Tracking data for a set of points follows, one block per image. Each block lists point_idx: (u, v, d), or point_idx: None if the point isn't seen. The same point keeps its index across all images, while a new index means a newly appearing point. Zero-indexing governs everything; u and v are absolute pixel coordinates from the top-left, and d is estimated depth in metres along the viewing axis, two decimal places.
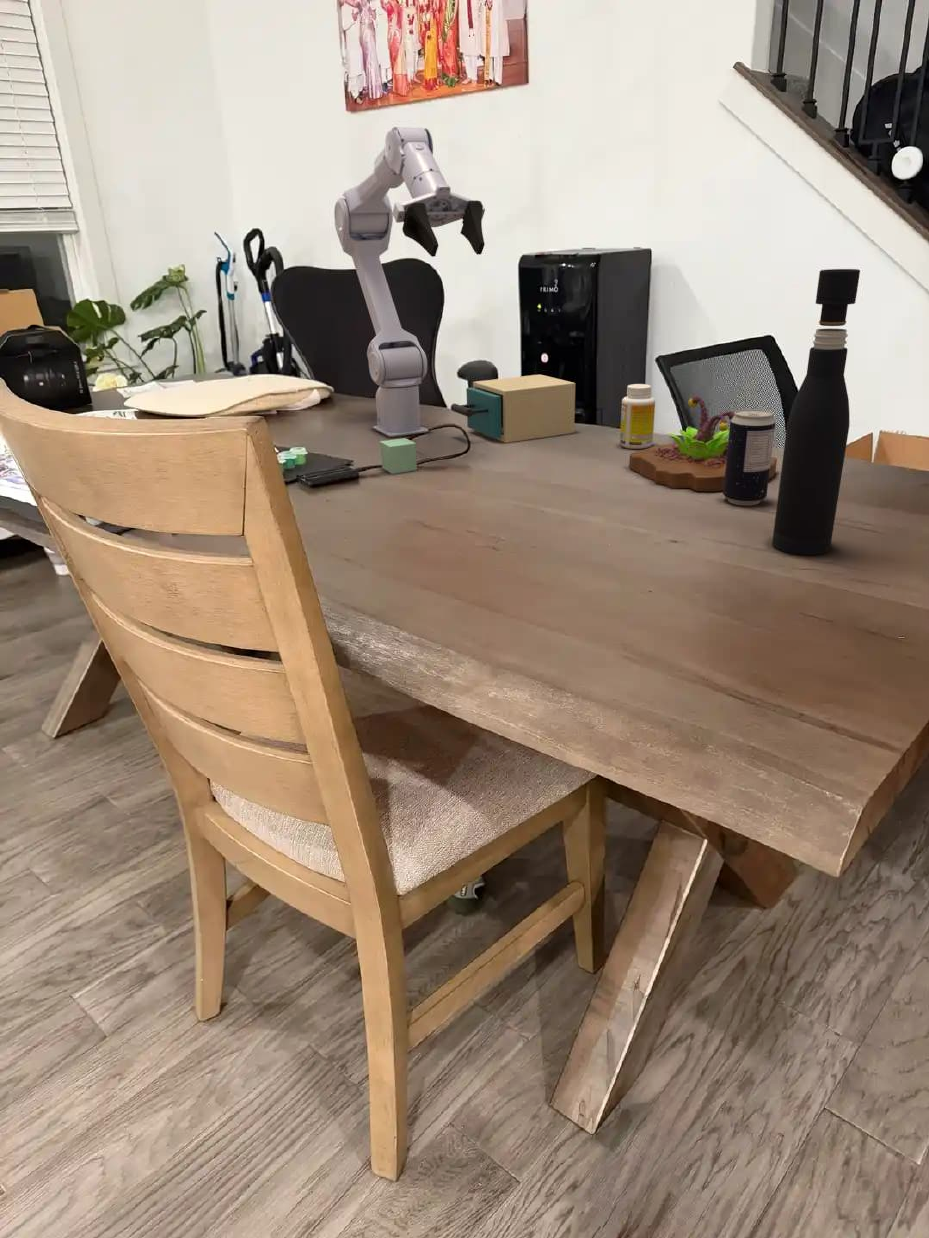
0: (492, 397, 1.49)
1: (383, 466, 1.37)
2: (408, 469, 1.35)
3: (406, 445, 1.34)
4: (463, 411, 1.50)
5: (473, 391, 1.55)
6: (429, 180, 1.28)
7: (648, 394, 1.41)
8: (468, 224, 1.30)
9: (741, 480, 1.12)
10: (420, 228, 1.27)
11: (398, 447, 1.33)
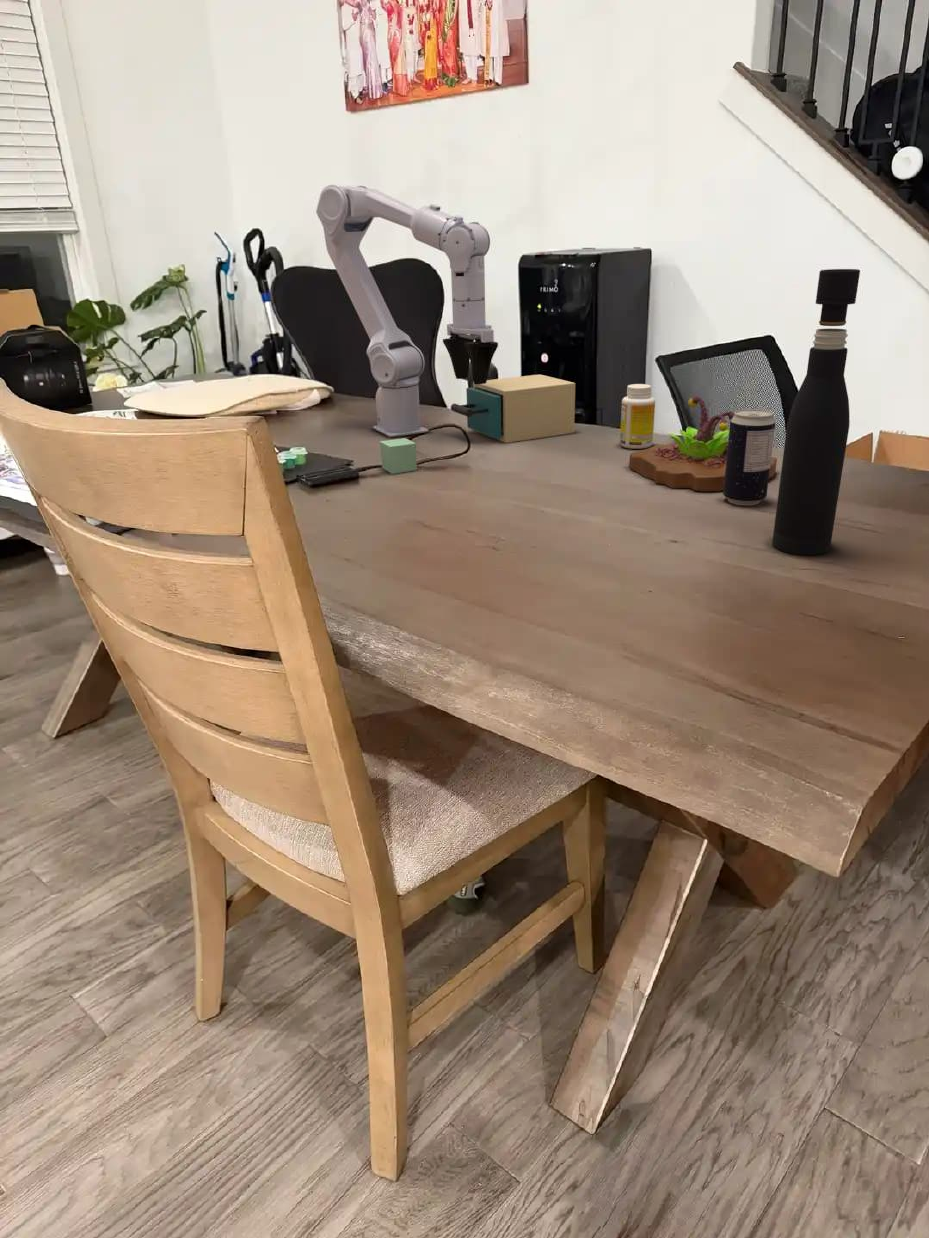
0: (492, 397, 1.49)
1: (383, 466, 1.37)
2: (408, 469, 1.35)
3: (406, 445, 1.34)
4: (463, 411, 1.50)
5: (473, 391, 1.55)
6: None
7: (648, 394, 1.41)
8: (461, 349, 1.52)
9: (741, 480, 1.12)
10: (480, 355, 1.45)
11: (398, 447, 1.33)
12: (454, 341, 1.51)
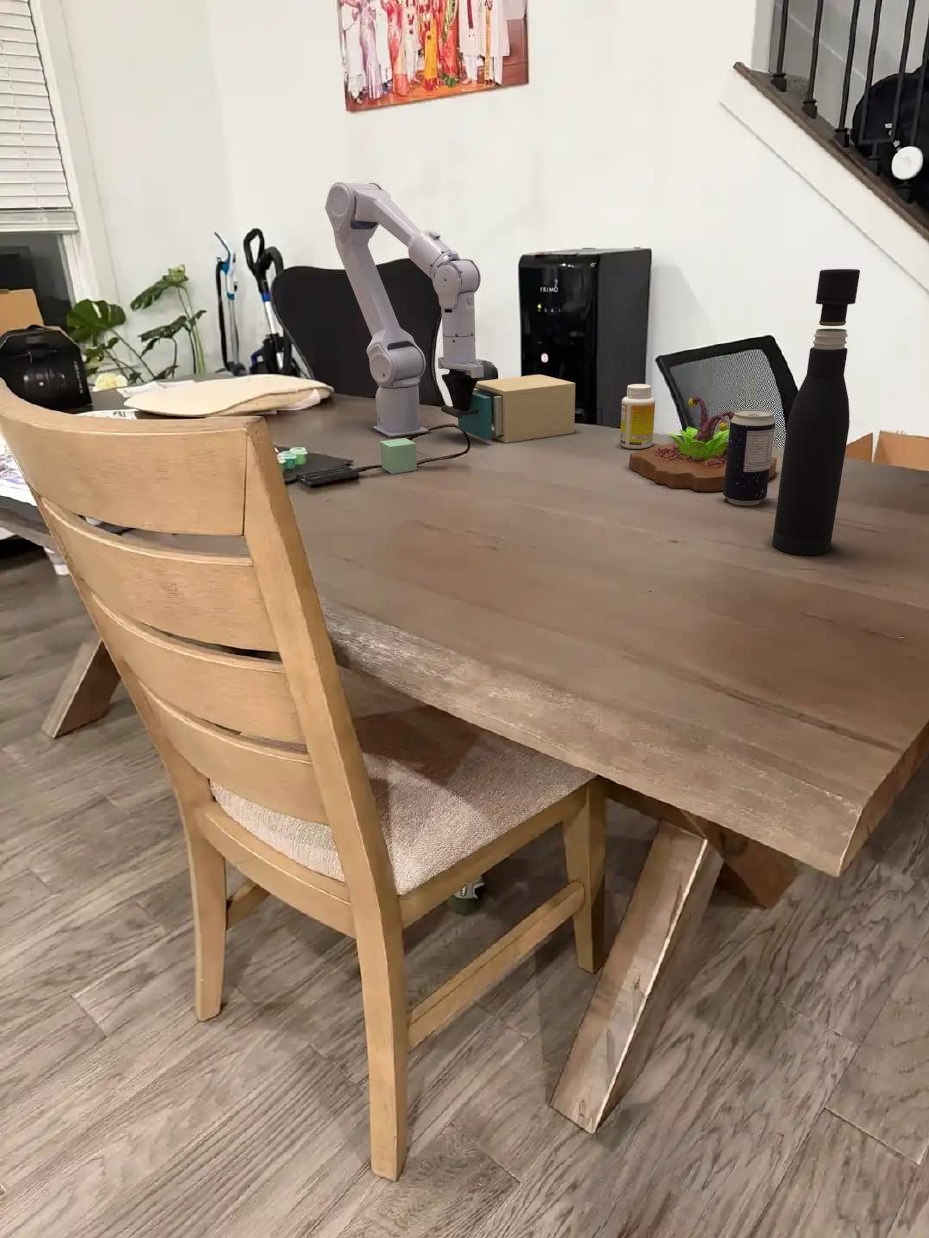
0: (482, 398, 1.48)
1: (383, 466, 1.37)
2: (408, 469, 1.35)
3: (406, 445, 1.34)
4: (453, 412, 1.49)
5: None
6: None
7: (648, 394, 1.41)
8: None
9: (741, 479, 1.12)
10: (462, 387, 1.50)
11: (398, 447, 1.33)
12: None
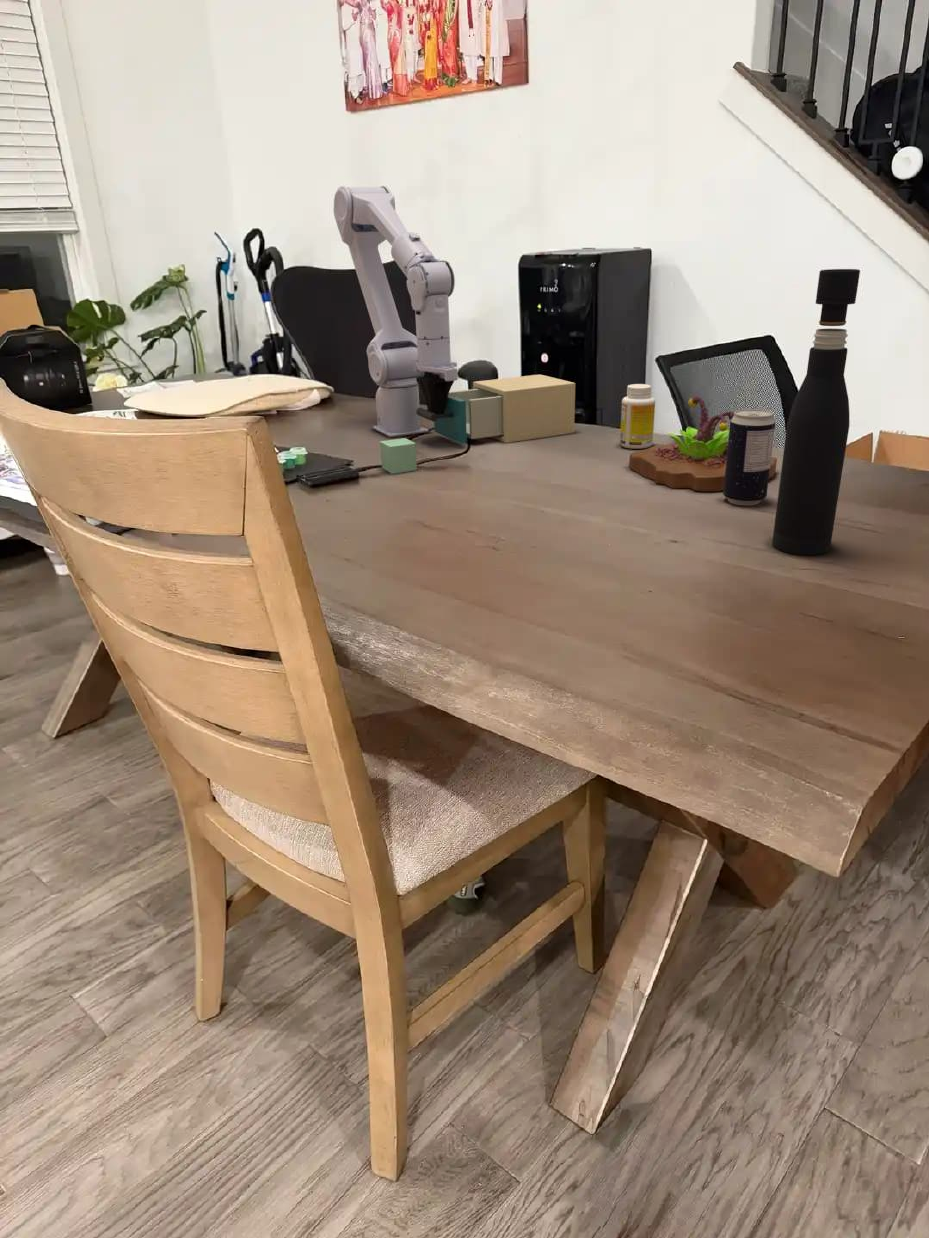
0: (457, 401, 1.46)
1: (383, 466, 1.37)
2: (408, 469, 1.35)
3: (406, 445, 1.34)
4: (428, 415, 1.48)
5: None
6: None
7: (648, 394, 1.41)
8: None
9: (741, 479, 1.12)
10: (436, 390, 1.48)
11: (398, 447, 1.33)
12: None
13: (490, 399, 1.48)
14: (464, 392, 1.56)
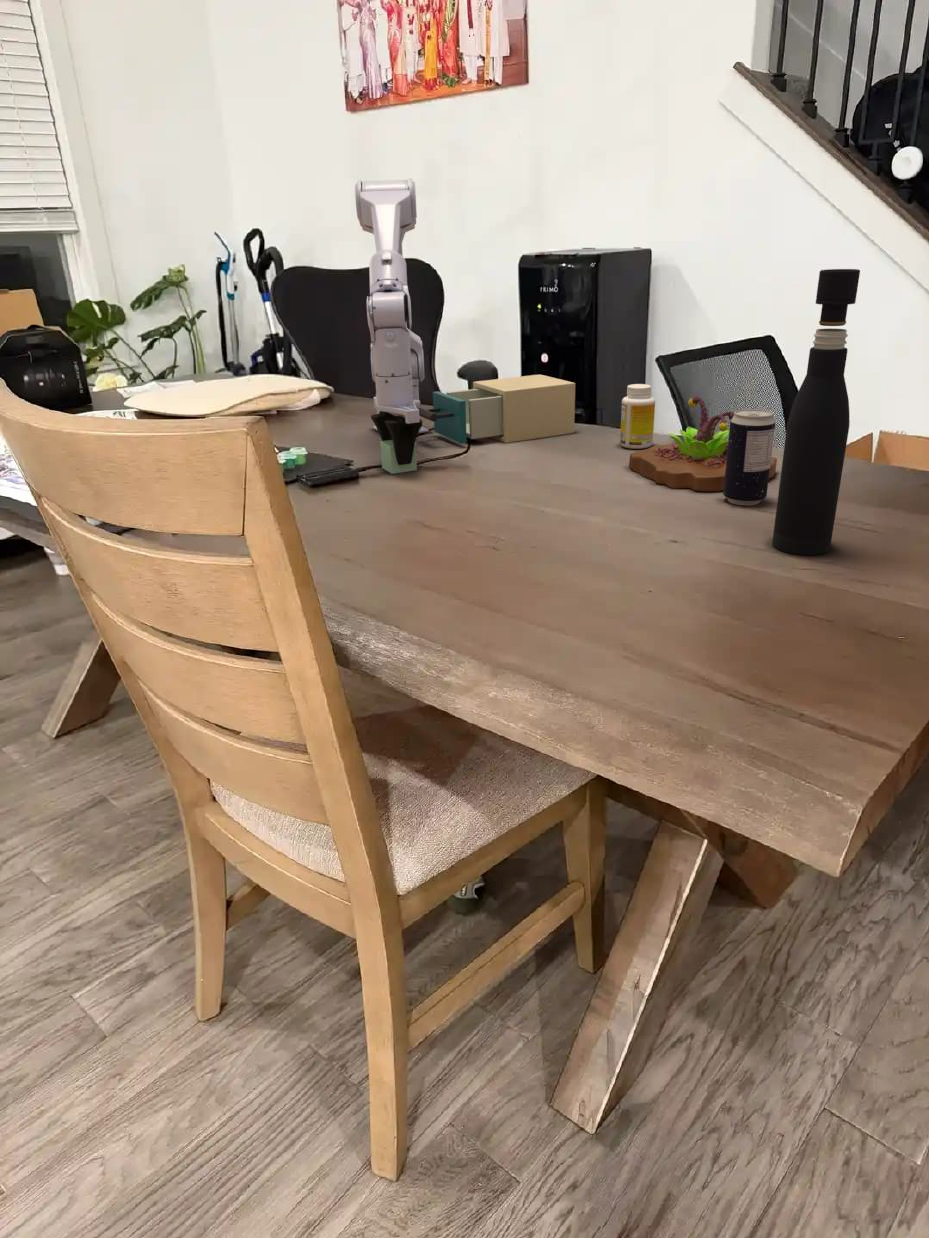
0: (457, 401, 1.46)
1: (382, 466, 1.37)
2: (408, 469, 1.35)
3: None
4: (428, 416, 1.47)
5: (439, 395, 1.52)
6: None
7: (648, 394, 1.41)
8: None
9: (741, 479, 1.12)
10: (403, 433, 1.32)
11: None
12: (383, 418, 1.35)
13: (490, 399, 1.48)
14: (464, 392, 1.56)
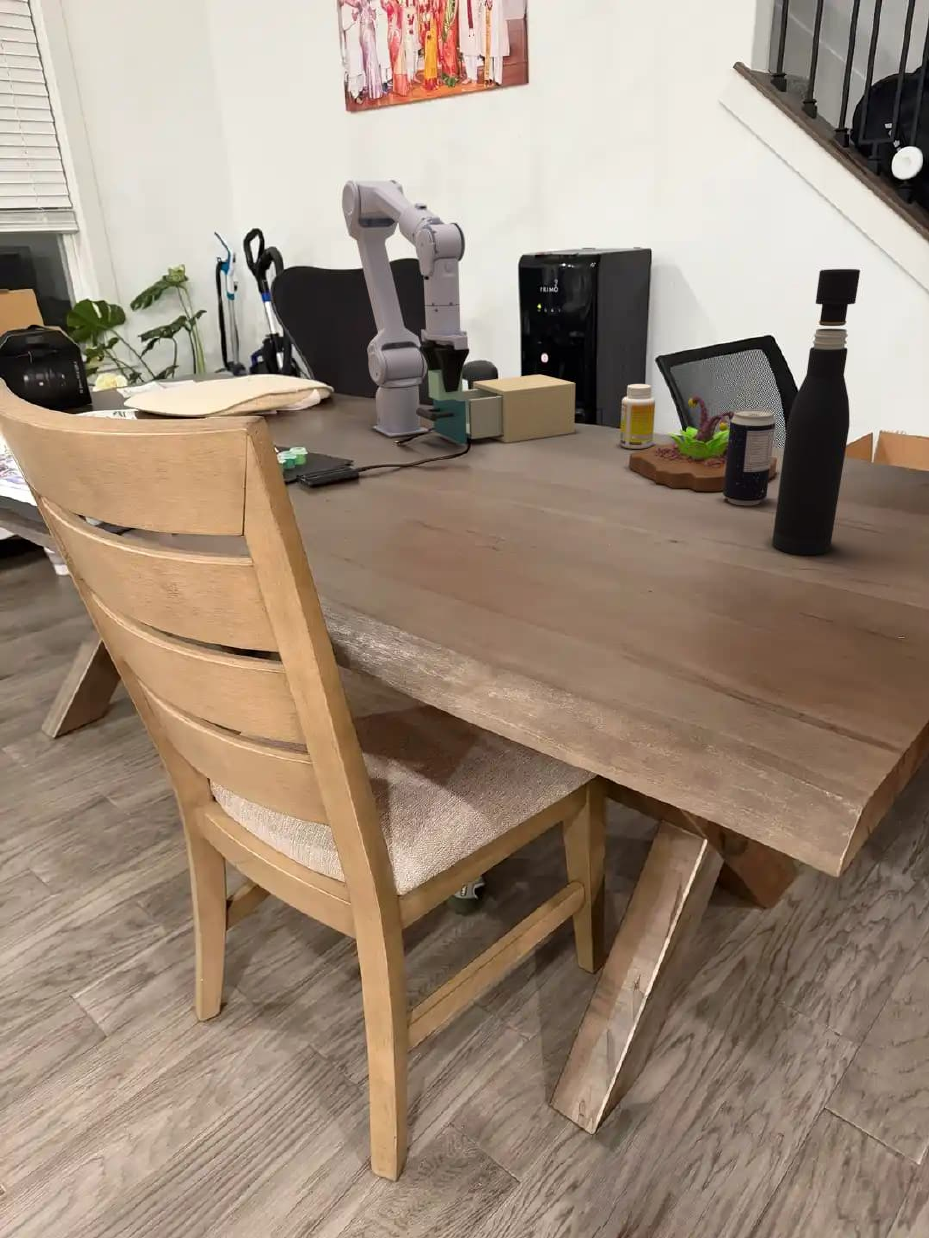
0: (457, 401, 1.46)
1: (430, 394, 1.45)
2: (454, 397, 1.43)
3: None
4: (428, 416, 1.47)
5: None
6: None
7: (648, 394, 1.41)
8: None
9: (741, 479, 1.12)
10: (451, 361, 1.40)
11: None
12: (431, 348, 1.43)
13: (490, 399, 1.48)
14: (464, 392, 1.56)
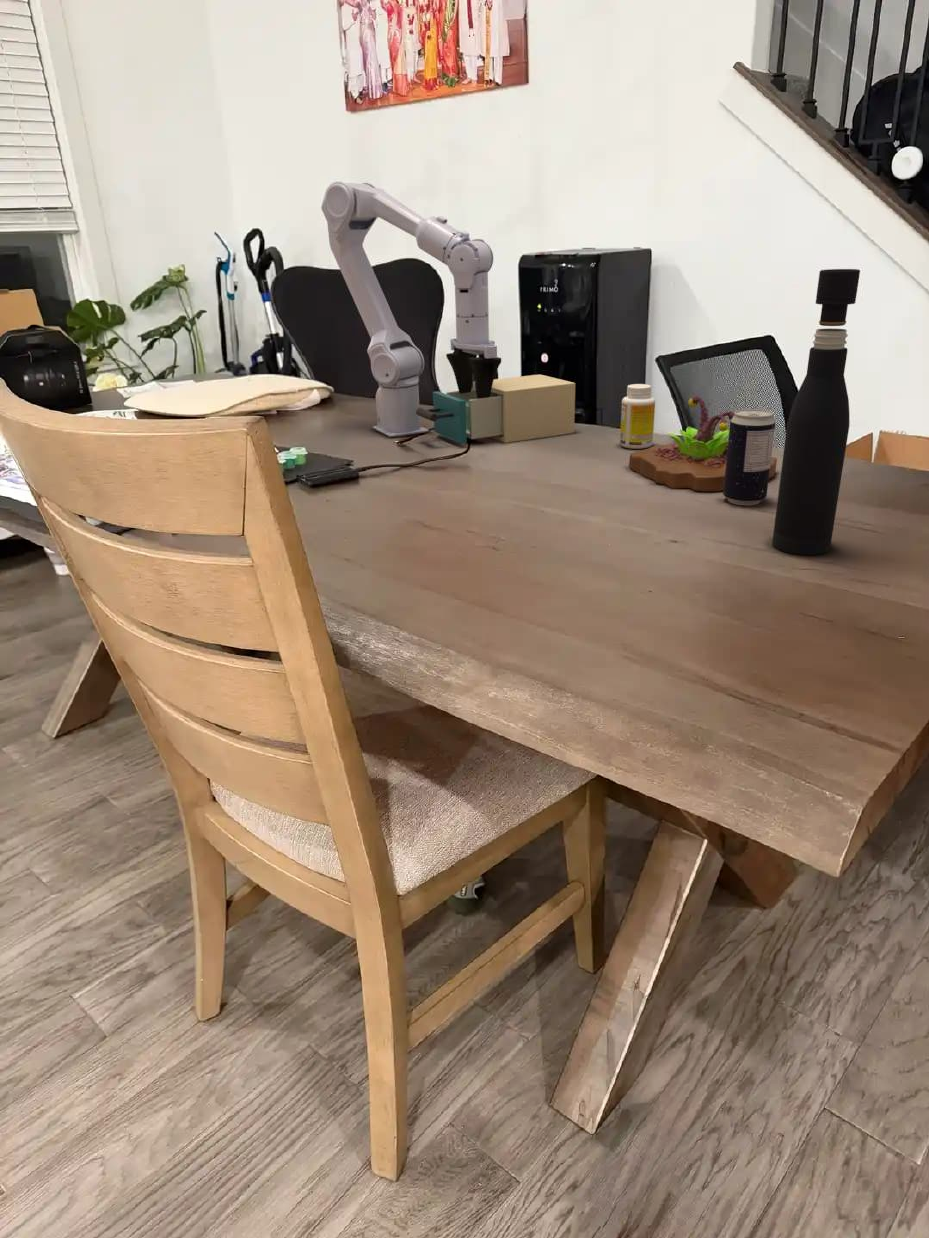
0: (457, 401, 1.46)
1: None
2: None
3: None
4: (428, 416, 1.47)
5: (439, 395, 1.52)
6: (488, 326, 1.48)
7: (648, 394, 1.41)
8: (465, 363, 1.53)
9: (741, 479, 1.12)
10: (483, 370, 1.47)
11: None
12: (457, 356, 1.52)
13: (490, 399, 1.48)
14: None
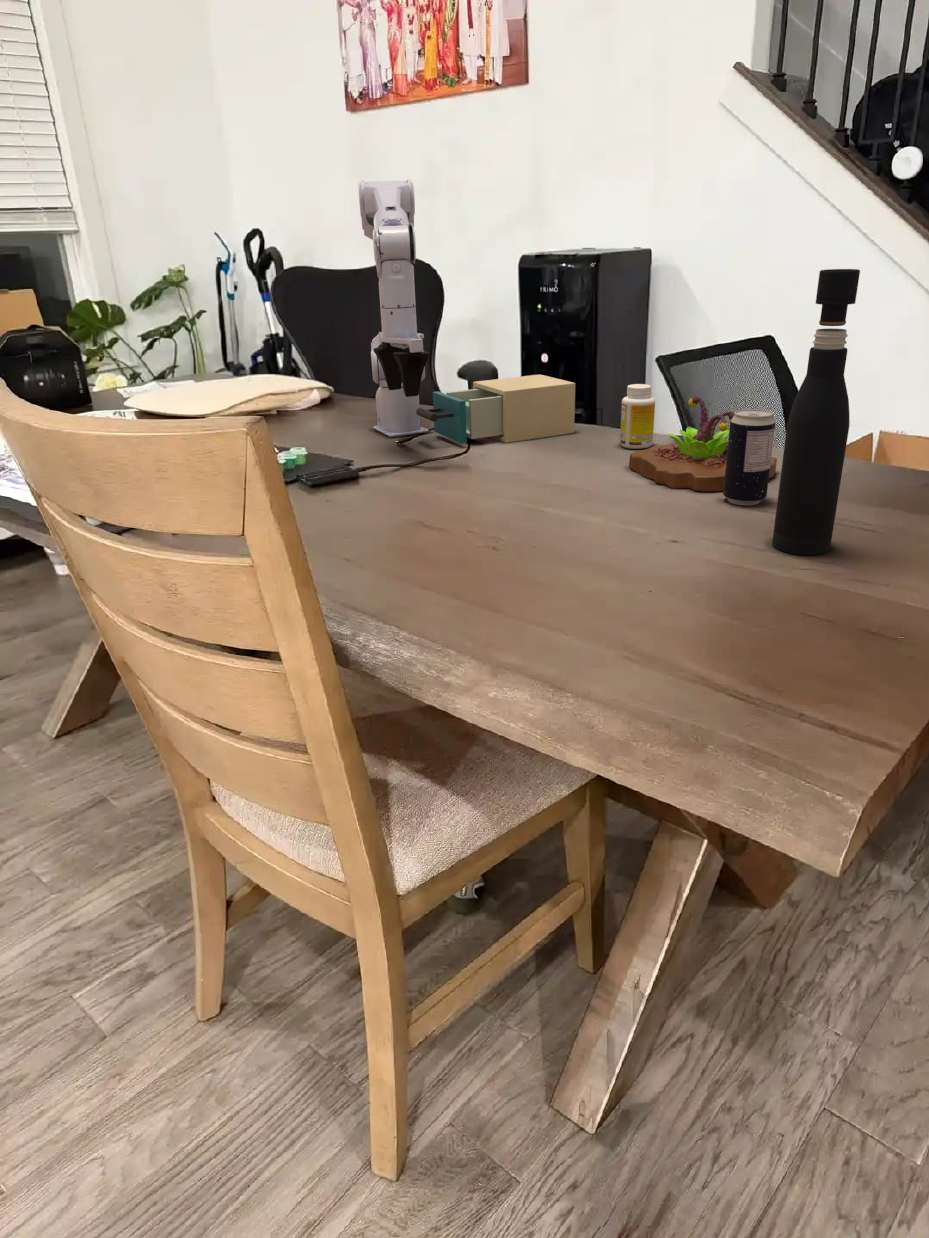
0: (457, 401, 1.46)
1: None
2: None
3: None
4: (428, 416, 1.47)
5: (439, 395, 1.52)
6: None
7: (648, 394, 1.41)
8: (393, 358, 1.43)
9: (741, 480, 1.12)
10: (410, 365, 1.36)
11: None
12: (385, 350, 1.42)
13: (490, 399, 1.48)
14: (464, 392, 1.56)
